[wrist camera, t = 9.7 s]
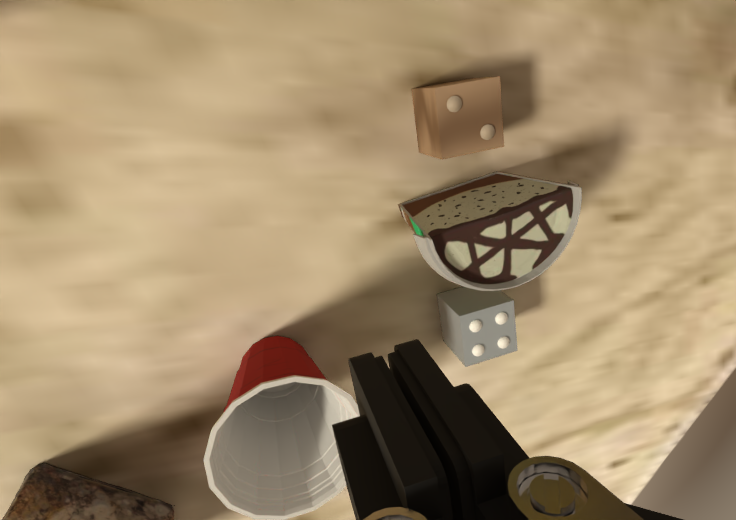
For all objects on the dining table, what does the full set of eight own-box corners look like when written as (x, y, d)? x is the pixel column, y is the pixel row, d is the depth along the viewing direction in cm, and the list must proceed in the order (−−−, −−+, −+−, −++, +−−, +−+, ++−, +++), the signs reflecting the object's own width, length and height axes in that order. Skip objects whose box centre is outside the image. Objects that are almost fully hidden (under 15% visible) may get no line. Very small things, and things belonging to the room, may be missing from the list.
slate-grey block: (436, 293, 45) (460, 317, 40) (485, 279, 45) (514, 301, 41) (442, 340, 46) (466, 367, 42) (490, 325, 47) (518, 351, 42)
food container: (398, 274, 43) (442, 322, 34) (381, 209, 41) (423, 242, 31) (522, 230, 45) (595, 264, 35) (512, 166, 42) (588, 185, 33)
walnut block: (411, 88, 38) (435, 87, 33) (469, 78, 39) (501, 75, 34) (418, 152, 40) (442, 159, 35) (474, 140, 41) (505, 146, 36)
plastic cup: (360, 361, 45) (400, 447, 34) (271, 436, 45) (282, 546, 34) (282, 281, 40) (299, 350, 29) (184, 364, 40) (164, 464, 29)
